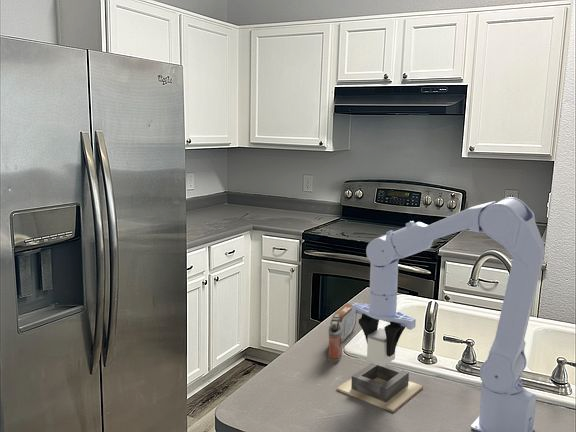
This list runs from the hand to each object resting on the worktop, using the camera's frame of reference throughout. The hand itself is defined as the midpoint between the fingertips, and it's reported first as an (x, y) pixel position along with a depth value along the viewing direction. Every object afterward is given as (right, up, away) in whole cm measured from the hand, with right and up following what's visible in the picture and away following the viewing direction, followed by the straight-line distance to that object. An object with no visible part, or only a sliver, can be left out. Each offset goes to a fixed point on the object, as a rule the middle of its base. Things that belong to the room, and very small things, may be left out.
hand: (381, 351), depth 116 cm
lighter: (-8, -6, +18) cm, 20 cm away
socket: (0, -9, +2) cm, 9 cm away
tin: (-5, -4, +29) cm, 29 cm away
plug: (0, -2, 0) cm, 2 cm away
